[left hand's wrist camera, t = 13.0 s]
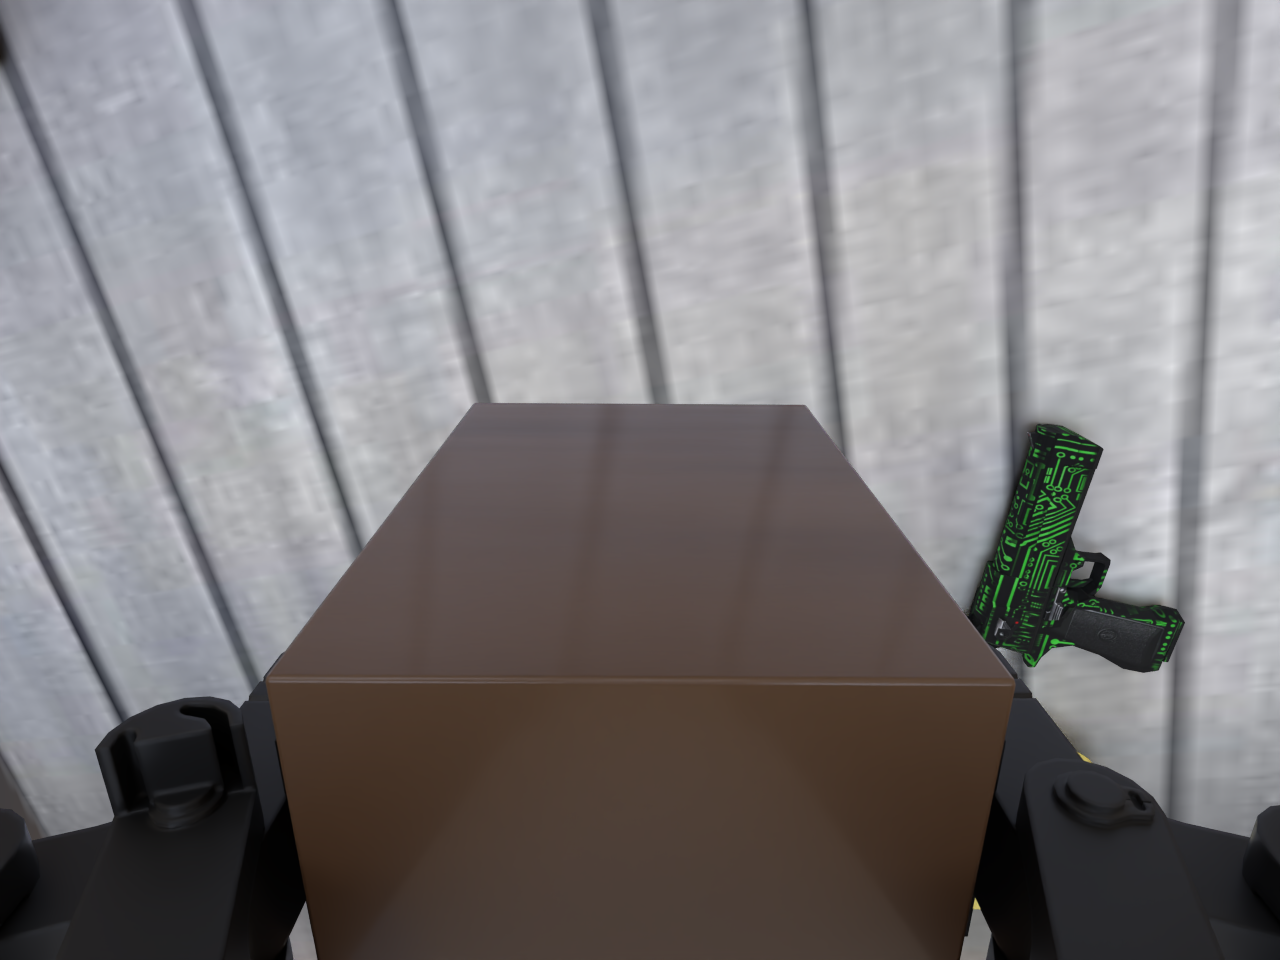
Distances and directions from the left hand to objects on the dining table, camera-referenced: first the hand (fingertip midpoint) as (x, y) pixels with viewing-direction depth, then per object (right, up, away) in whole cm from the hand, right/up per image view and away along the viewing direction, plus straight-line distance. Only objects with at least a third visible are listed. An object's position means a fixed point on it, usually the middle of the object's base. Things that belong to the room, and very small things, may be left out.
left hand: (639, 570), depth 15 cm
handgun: (+29, -3, +38) cm, 48 cm away
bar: (0, -12, +5) cm, 14 cm away
